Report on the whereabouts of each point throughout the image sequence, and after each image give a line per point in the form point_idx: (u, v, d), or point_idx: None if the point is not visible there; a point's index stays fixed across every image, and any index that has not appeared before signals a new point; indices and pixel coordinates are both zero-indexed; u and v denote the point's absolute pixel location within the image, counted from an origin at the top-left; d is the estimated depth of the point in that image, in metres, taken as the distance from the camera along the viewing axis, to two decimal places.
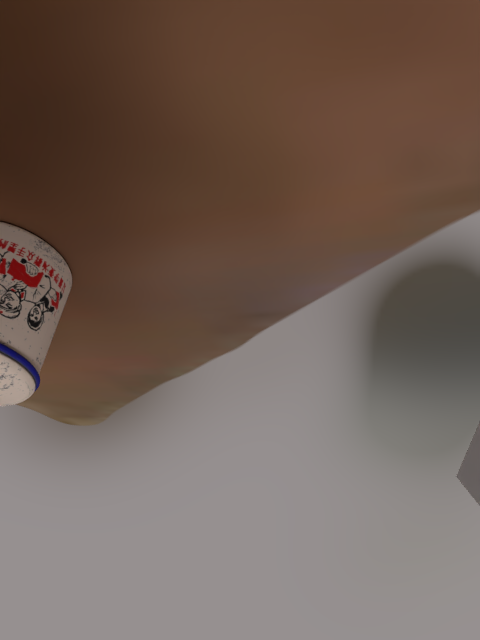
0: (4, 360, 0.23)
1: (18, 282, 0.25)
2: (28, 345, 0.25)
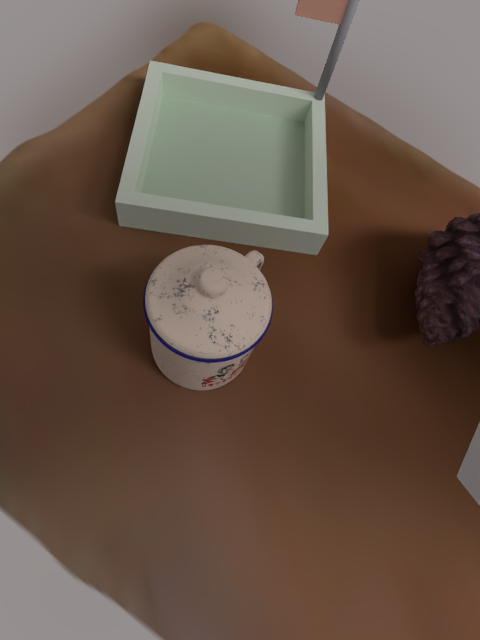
0: (244, 348, 0.28)
1: (242, 361, 0.33)
2: (223, 361, 0.29)
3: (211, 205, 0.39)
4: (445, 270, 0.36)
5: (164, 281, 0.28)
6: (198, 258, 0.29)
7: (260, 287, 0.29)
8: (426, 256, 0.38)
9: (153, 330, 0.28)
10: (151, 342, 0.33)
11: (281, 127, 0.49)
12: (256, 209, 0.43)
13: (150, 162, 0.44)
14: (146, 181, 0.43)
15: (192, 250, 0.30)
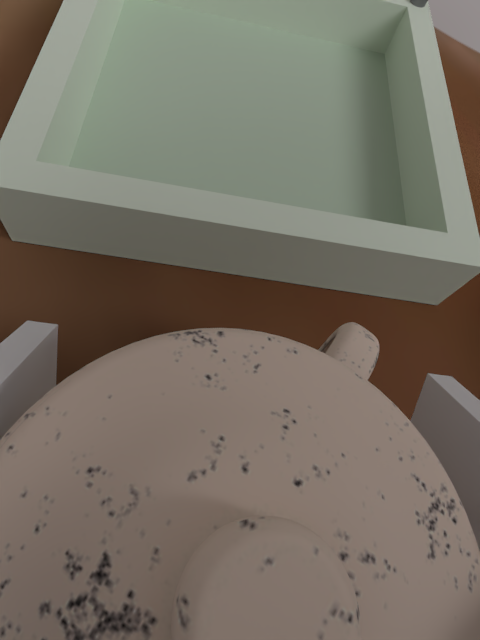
0: None
1: None
2: None
3: (220, 196, 0.17)
4: None
5: (12, 540, 0.06)
6: (184, 408, 0.07)
7: (446, 528, 0.07)
8: None
9: None
10: None
11: (345, 60, 0.27)
12: (310, 208, 0.21)
13: (93, 109, 0.21)
14: (81, 146, 0.20)
15: (161, 359, 0.07)
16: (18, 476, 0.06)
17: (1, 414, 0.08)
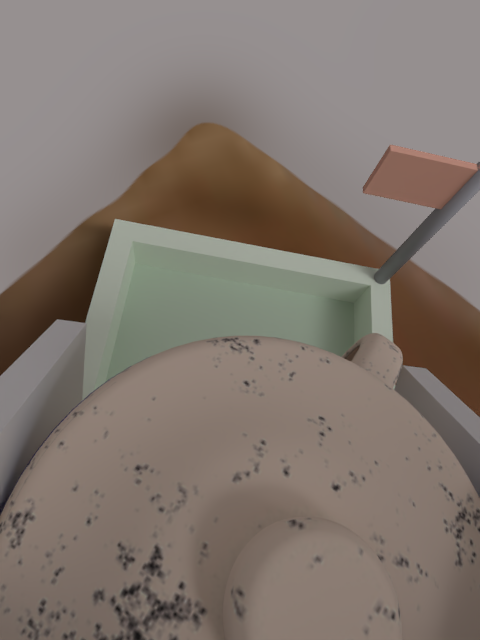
0: None
1: None
2: None
3: None
4: None
5: (65, 531, 0.06)
6: (225, 412, 0.07)
7: (472, 537, 0.07)
8: None
9: None
10: None
11: (318, 315, 0.32)
12: None
13: None
14: None
15: (201, 365, 0.08)
16: (69, 471, 0.07)
17: (41, 408, 0.08)
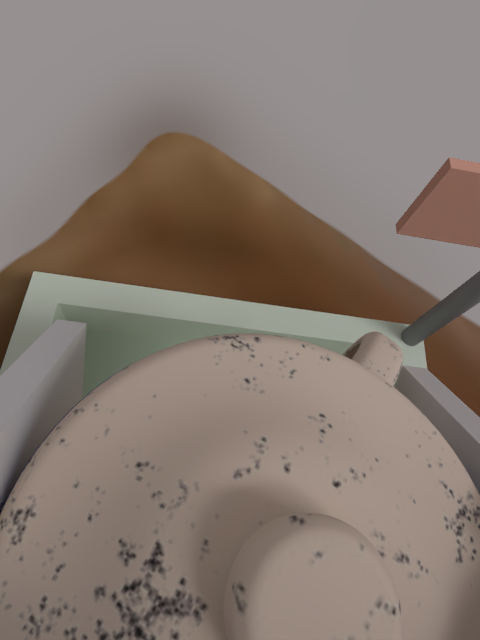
0: None
1: None
2: None
3: None
4: None
5: (66, 528, 0.06)
6: (225, 409, 0.07)
7: (472, 534, 0.07)
8: None
9: None
10: None
11: None
12: None
13: None
14: None
15: (202, 362, 0.08)
16: (70, 468, 0.07)
17: (41, 408, 0.08)
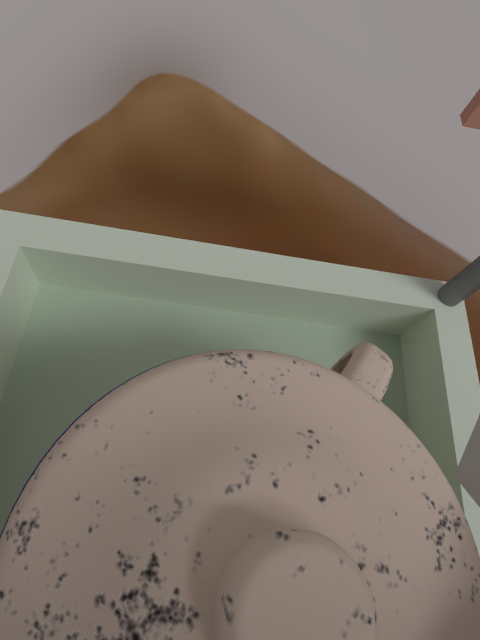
0: None
1: None
2: None
3: None
4: None
5: (68, 539, 0.06)
6: (219, 425, 0.07)
7: (452, 543, 0.08)
8: None
9: None
10: None
11: None
12: None
13: None
14: None
15: (197, 379, 0.08)
16: (72, 481, 0.07)
17: None
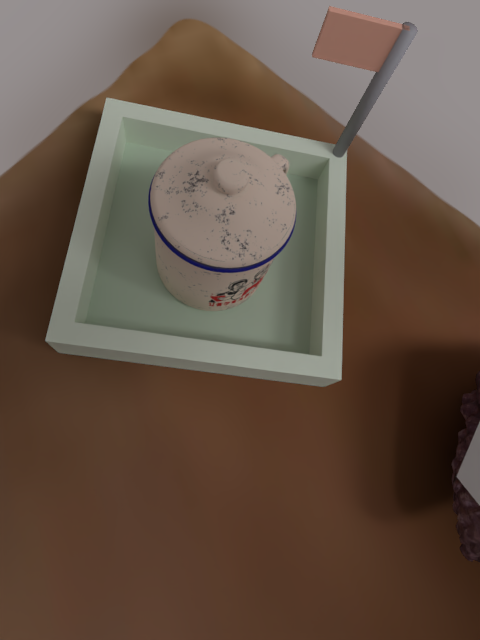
0: (261, 258, 0.24)
1: (256, 279, 0.29)
2: (236, 273, 0.26)
3: (182, 339, 0.28)
4: None
5: (173, 174, 0.24)
6: (214, 151, 0.25)
7: (284, 191, 0.25)
8: (473, 423, 0.28)
9: (158, 230, 0.24)
10: (156, 251, 0.29)
11: None
12: (246, 322, 0.32)
13: (105, 251, 0.32)
14: (98, 283, 0.31)
15: (208, 142, 0.25)
16: (172, 163, 0.25)
17: None
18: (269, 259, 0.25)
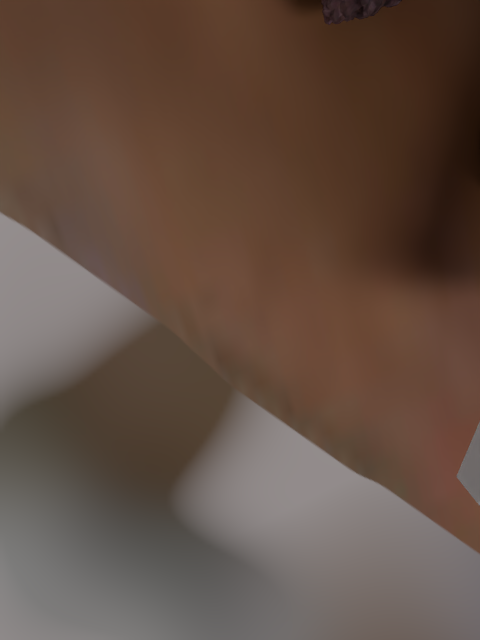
0: None
1: None
2: None
3: None
4: None
5: None
6: None
7: None
8: None
9: None
10: None
11: None
12: None
13: None
14: None
15: None
16: None
17: None
18: None
